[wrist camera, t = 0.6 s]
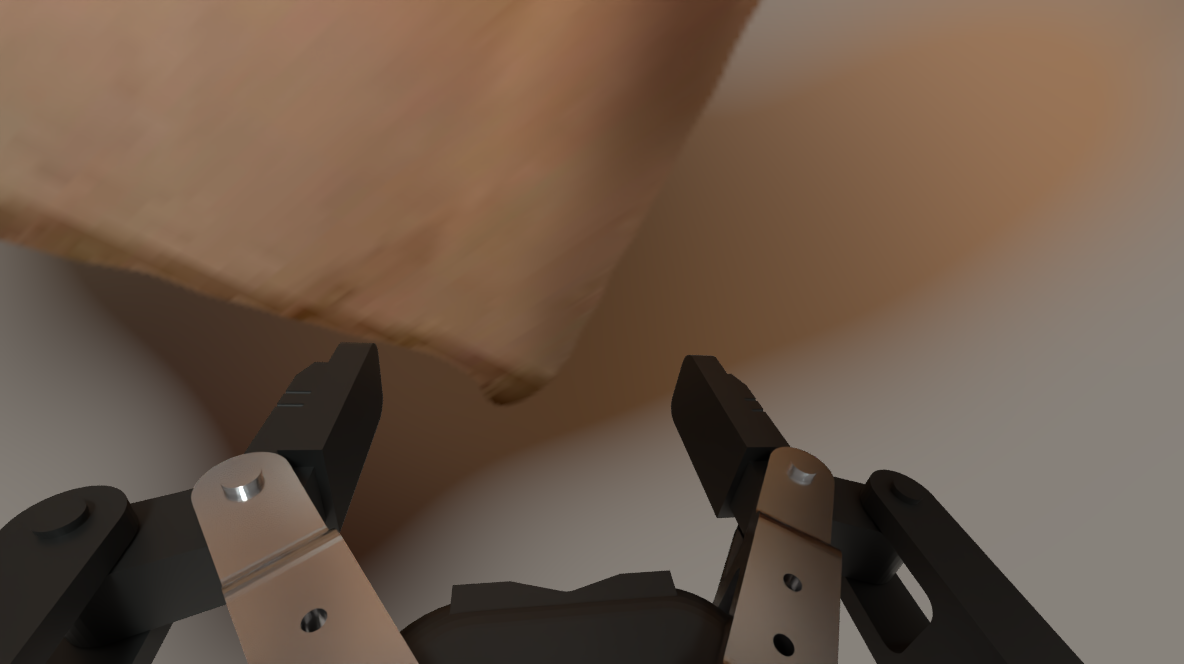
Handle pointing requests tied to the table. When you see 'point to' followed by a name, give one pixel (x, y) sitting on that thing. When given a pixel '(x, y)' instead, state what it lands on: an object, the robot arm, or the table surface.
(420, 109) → the table surface
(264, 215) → the table surface
